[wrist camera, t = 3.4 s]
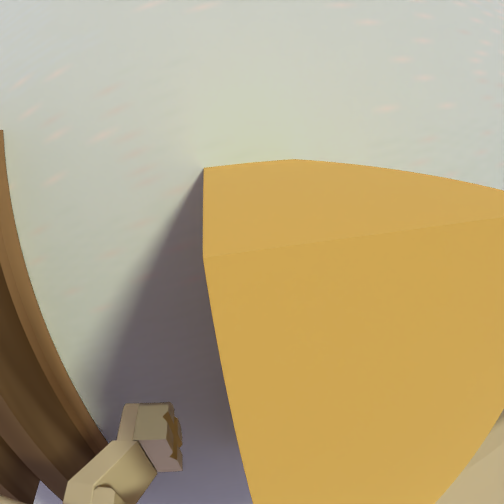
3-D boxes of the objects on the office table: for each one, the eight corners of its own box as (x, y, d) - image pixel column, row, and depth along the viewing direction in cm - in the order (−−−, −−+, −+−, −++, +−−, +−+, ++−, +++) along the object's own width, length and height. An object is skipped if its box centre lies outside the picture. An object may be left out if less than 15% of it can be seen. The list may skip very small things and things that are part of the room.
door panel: (293, 159, 10) (566, 208, 2) (300, 436, 14) (353, 573, 6) (203, 167, 10) (201, 257, 1) (246, 446, 14) (279, 592, 6)
